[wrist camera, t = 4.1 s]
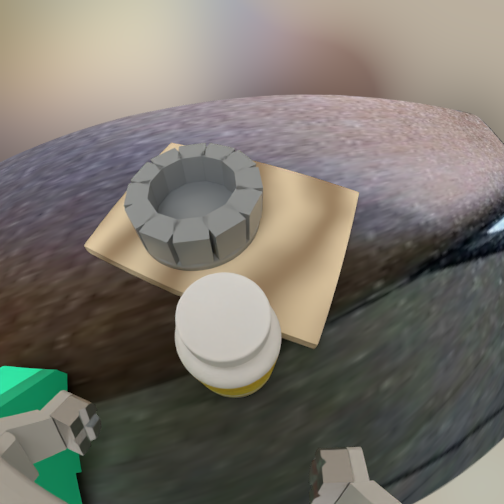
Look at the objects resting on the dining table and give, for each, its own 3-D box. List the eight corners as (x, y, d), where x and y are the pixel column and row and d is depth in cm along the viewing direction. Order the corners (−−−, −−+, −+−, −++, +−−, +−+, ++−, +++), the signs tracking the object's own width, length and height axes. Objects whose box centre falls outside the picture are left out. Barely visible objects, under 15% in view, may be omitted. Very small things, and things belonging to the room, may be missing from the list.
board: (89, 252, 25) (83, 245, 24) (172, 150, 33) (171, 142, 32) (314, 349, 20) (317, 345, 19) (356, 200, 28) (359, 192, 27)
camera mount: (15, 372, 18) (-64, 332, 9) (74, 376, 18) (-14, 335, 10) (26, 490, 11) (-56, 490, 3) (91, 510, 12) (7, 534, 3)
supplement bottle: (287, 374, 19) (315, 337, 11) (220, 411, 18) (192, 405, 9) (249, 314, 22) (246, 239, 13) (185, 347, 20) (139, 291, 12)
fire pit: (117, 245, 24) (100, 216, 20) (179, 166, 29) (172, 136, 26) (227, 291, 21) (223, 263, 18) (277, 192, 27) (280, 159, 23)
